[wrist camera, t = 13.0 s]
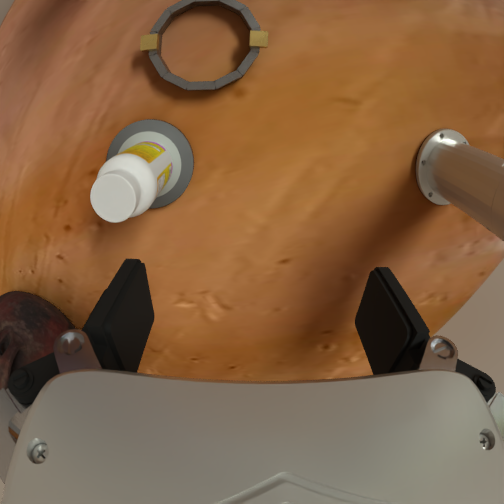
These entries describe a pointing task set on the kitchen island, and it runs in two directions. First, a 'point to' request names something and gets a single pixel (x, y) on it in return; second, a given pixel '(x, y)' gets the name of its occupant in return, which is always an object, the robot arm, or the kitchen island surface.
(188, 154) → the coaster
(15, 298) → the jug
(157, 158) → the supplement bottle
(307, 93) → the kitchen island surface
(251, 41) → the collar
